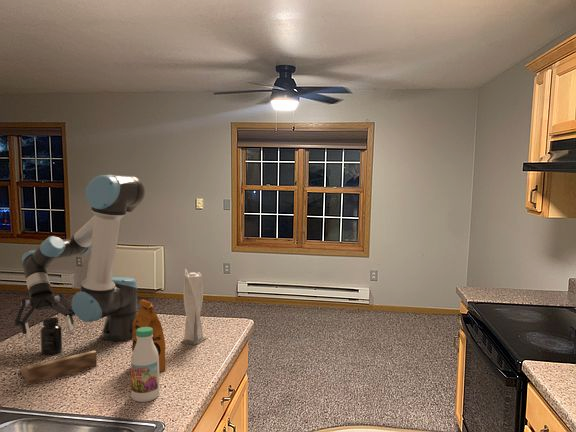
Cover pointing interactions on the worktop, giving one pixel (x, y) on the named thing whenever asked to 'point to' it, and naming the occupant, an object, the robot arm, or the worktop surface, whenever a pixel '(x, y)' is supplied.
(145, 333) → the milk bottle
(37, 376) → the walnut shelf
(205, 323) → the worktop surface
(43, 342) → the supplement bottle
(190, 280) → the skyscraper
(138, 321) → the orange brown carved sculpture
